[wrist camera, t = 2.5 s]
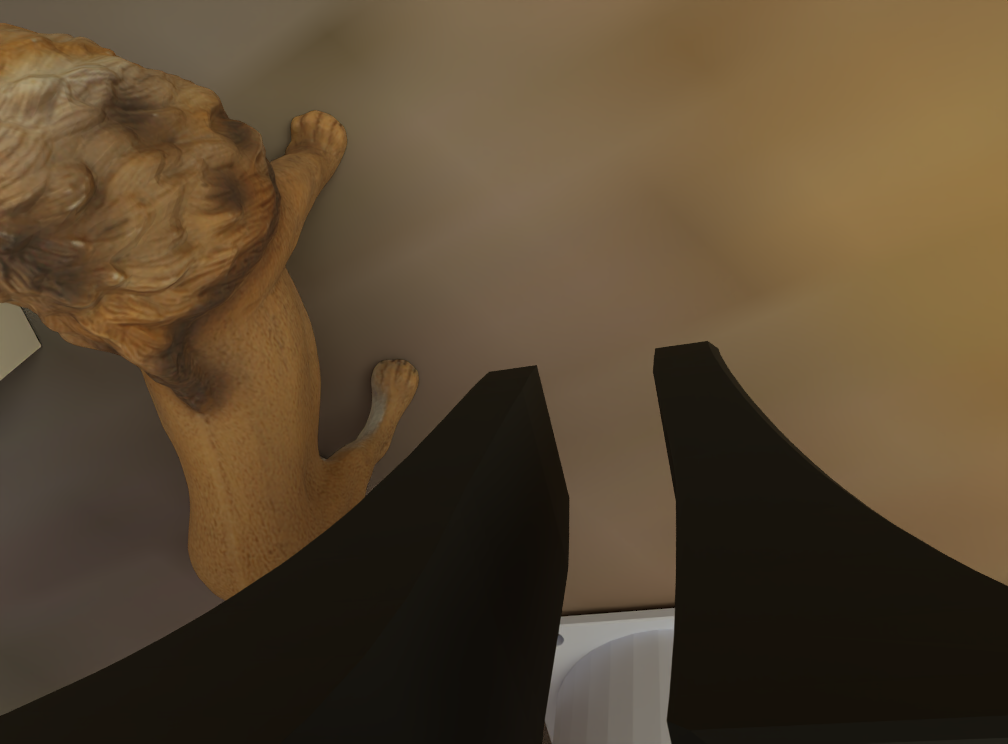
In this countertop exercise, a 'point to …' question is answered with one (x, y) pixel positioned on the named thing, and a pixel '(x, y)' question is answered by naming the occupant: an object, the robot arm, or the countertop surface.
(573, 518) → the countertop surface
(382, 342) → the countertop surface
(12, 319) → the book row
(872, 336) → the countertop surface
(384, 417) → the lion figurine
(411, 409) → the countertop surface
